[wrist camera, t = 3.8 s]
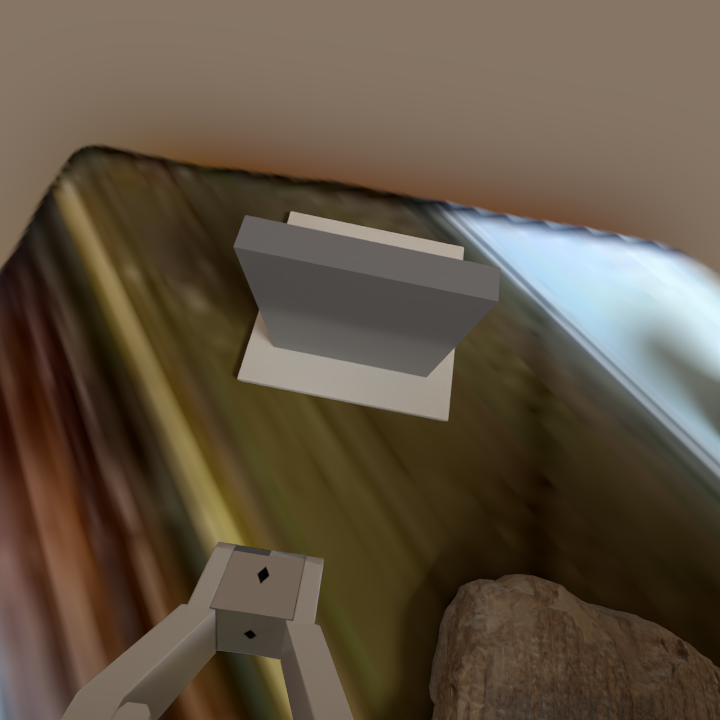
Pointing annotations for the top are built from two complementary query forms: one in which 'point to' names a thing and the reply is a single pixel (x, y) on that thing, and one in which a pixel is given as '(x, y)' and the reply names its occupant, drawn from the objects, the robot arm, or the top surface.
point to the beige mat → (346, 377)
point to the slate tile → (362, 296)
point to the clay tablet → (561, 660)
